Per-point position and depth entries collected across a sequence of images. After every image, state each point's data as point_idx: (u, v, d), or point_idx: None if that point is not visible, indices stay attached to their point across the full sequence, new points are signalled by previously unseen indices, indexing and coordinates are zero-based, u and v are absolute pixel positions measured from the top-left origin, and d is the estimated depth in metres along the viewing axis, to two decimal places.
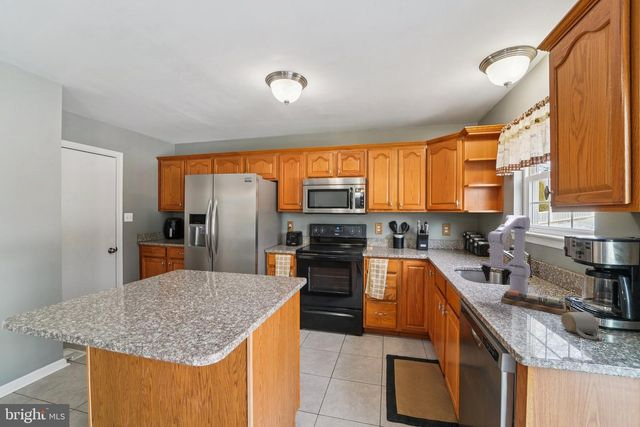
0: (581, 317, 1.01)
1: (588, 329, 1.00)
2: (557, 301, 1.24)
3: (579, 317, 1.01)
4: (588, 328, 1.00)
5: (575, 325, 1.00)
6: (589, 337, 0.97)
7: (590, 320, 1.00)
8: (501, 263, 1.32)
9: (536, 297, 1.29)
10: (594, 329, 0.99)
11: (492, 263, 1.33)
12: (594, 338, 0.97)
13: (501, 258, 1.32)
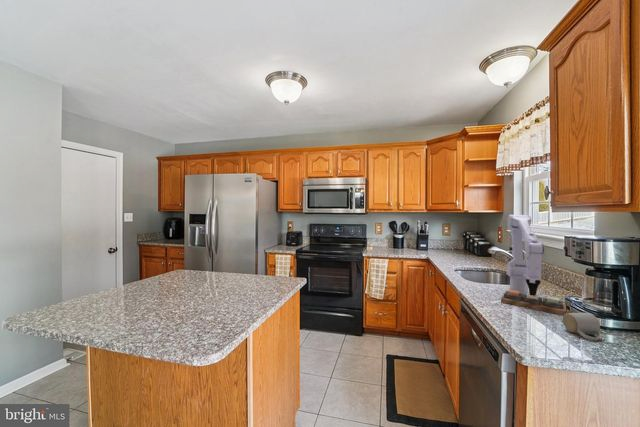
0: (582, 318, 1.00)
1: (590, 330, 0.99)
2: (557, 301, 1.24)
3: (581, 317, 1.01)
4: (590, 329, 0.99)
5: (576, 326, 1.00)
6: (590, 338, 0.97)
7: (592, 321, 0.99)
8: (531, 274, 1.30)
9: (536, 297, 1.29)
10: (596, 330, 0.99)
11: None
12: (596, 339, 0.96)
13: (530, 269, 1.30)
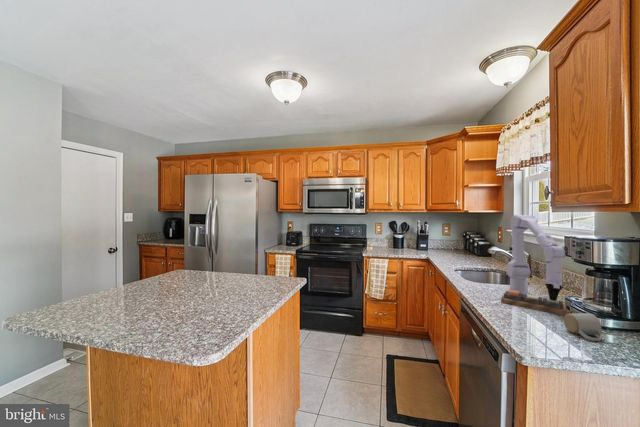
0: (583, 318, 1.00)
1: (591, 330, 0.99)
2: None
3: (582, 318, 1.00)
4: (591, 329, 0.98)
5: (578, 327, 0.99)
6: (591, 339, 0.96)
7: (593, 321, 0.99)
8: (552, 279, 1.24)
9: None
10: (597, 331, 0.98)
11: None
12: (597, 340, 0.96)
13: (552, 274, 1.24)
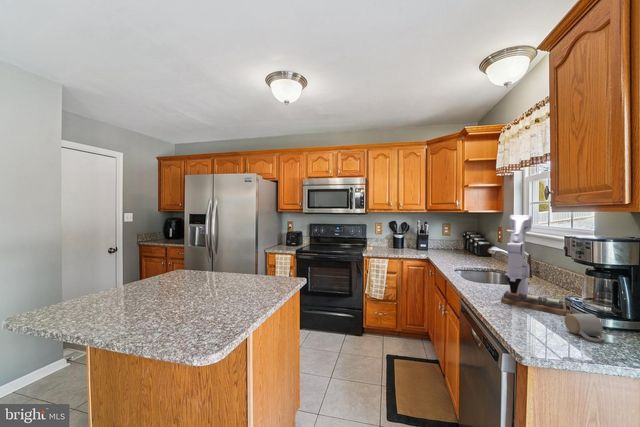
0: (584, 319, 0.99)
1: (592, 331, 0.98)
2: None
3: (583, 318, 1.00)
4: (592, 330, 0.98)
5: (579, 327, 0.99)
6: (592, 340, 0.96)
7: (594, 322, 0.98)
8: (512, 273, 1.35)
9: None
10: (598, 331, 0.98)
11: None
12: (598, 340, 0.95)
13: (511, 268, 1.35)
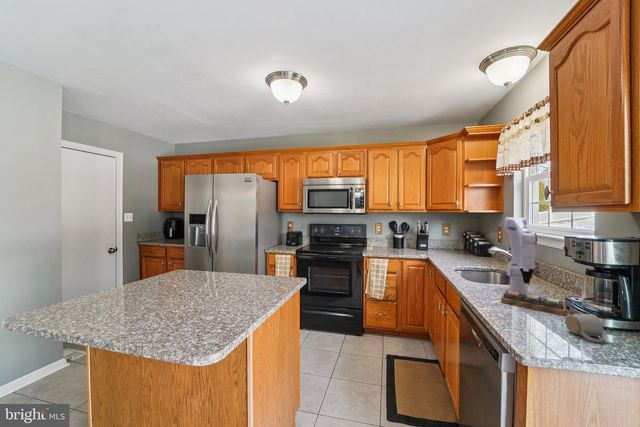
0: (585, 319, 0.99)
1: (593, 332, 0.98)
2: None
3: (584, 319, 0.99)
4: (593, 331, 0.98)
5: (580, 328, 0.98)
6: (594, 340, 0.95)
7: (595, 322, 0.98)
8: (524, 263, 1.35)
9: None
10: (599, 332, 0.97)
11: None
12: (599, 341, 0.95)
13: (524, 258, 1.35)
